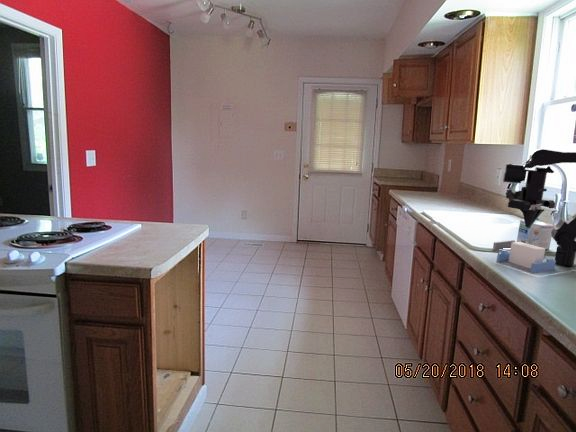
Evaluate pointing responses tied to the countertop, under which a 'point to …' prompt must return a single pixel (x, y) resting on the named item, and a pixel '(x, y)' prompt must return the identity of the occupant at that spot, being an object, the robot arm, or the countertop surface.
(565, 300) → the countertop surface
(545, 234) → the light bulb box
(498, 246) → the grey flat block
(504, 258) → the blue bezel bay
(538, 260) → the pale pink flat box
